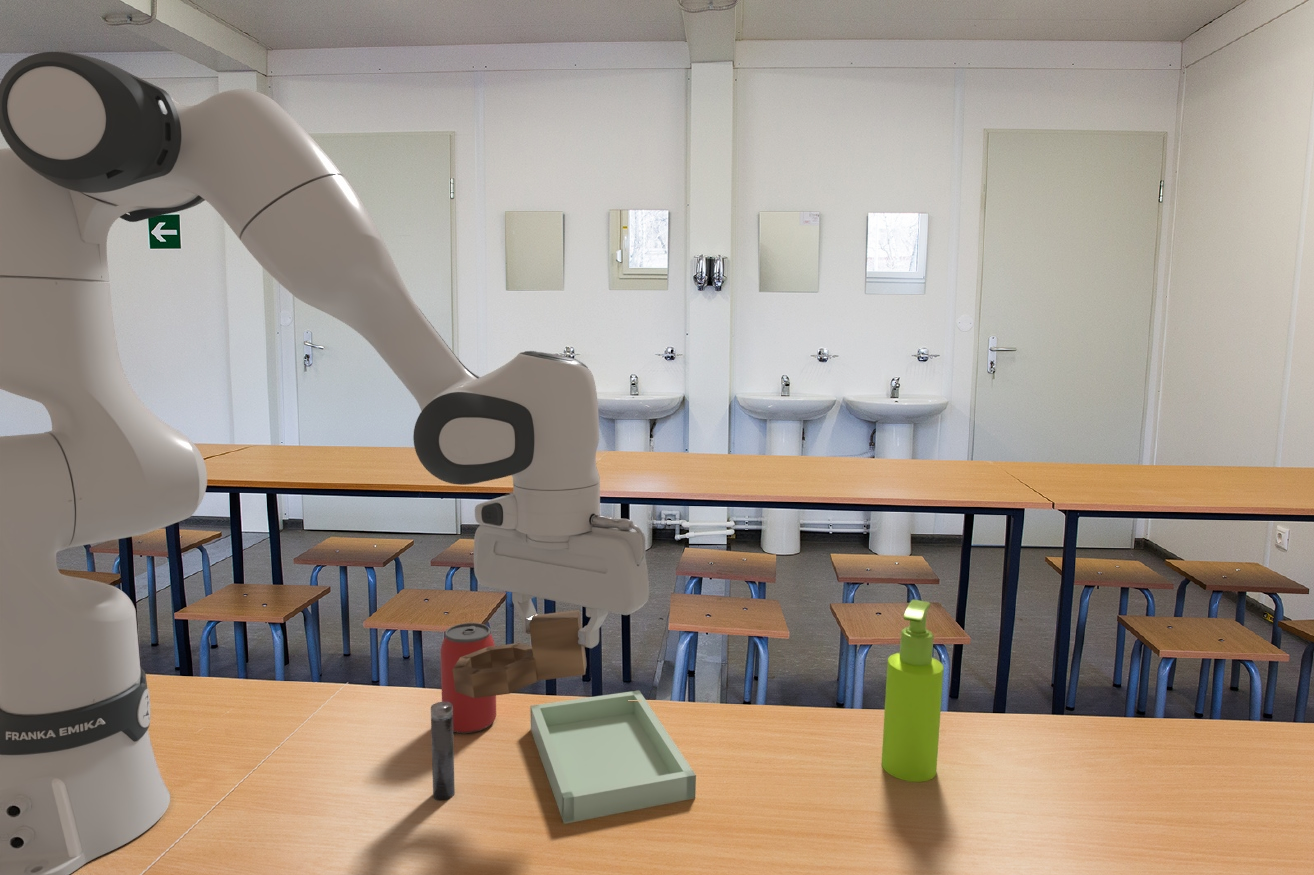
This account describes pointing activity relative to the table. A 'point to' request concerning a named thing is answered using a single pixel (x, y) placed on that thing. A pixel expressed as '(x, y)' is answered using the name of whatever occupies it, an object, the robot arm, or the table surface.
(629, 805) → the tray
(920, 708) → the soap dispenser
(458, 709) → the beer can
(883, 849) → the table surface
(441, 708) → the dark grey metal cylinder
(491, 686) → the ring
